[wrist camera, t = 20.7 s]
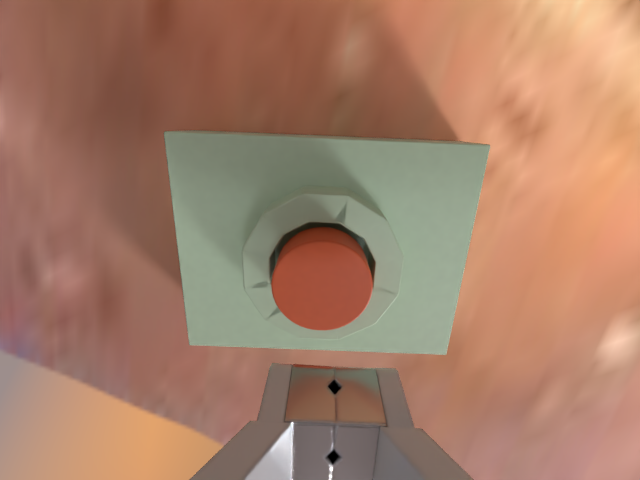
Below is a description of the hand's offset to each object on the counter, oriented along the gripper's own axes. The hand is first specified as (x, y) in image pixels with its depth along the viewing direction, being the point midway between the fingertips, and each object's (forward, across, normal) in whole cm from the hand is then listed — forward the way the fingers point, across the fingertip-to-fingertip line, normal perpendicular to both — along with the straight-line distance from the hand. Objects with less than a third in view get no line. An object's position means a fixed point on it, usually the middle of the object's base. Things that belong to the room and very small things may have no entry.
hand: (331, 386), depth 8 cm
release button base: (+11, 0, 0) cm, 11 cm away
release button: (+7, 0, 0) cm, 7 cm away
